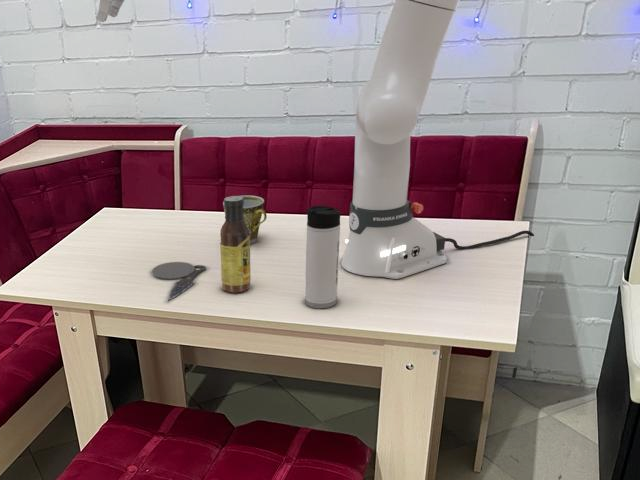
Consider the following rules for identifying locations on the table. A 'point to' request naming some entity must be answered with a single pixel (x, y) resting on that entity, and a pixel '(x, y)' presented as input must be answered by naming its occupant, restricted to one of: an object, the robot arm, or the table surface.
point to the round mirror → (173, 270)
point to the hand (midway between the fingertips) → (106, 18)
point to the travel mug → (322, 256)
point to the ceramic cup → (253, 215)
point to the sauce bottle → (235, 247)
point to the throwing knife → (185, 282)
